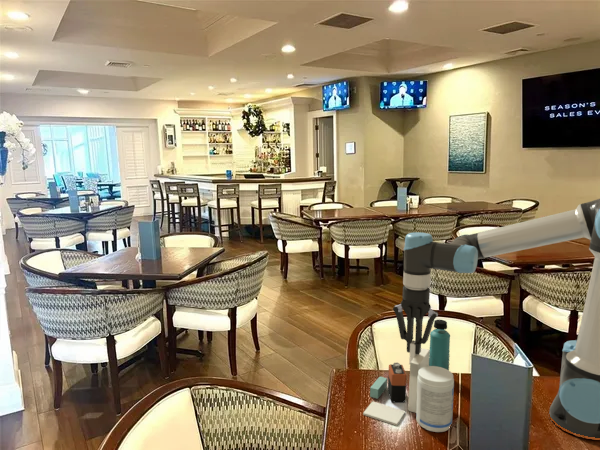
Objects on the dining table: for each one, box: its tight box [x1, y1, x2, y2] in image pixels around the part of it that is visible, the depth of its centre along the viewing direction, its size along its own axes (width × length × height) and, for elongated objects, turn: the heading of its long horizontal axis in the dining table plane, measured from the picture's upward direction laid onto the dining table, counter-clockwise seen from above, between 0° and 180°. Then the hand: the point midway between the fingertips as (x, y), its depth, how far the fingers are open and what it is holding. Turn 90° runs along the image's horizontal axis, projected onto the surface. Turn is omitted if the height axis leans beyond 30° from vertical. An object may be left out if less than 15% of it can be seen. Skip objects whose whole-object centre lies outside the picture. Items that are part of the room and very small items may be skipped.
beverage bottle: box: [429, 319, 451, 371], centre depth 146 cm, size 6×7×20 cm
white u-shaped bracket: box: [407, 347, 430, 414], centre depth 132 cm, size 2×11×15 cm, turn 149°
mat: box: [362, 400, 406, 427], centre depth 128 cm, size 10×7×1 cm
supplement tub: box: [415, 366, 455, 433], centre depth 122 cm, size 10×10×15 cm
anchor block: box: [369, 376, 388, 400], centre depth 139 cm, size 2×8×3 cm, turn 149°
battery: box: [387, 362, 407, 404], centre depth 136 cm, size 4×7×10 cm, turn 178°
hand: (413, 363), depth 132 cm, fingers closed
